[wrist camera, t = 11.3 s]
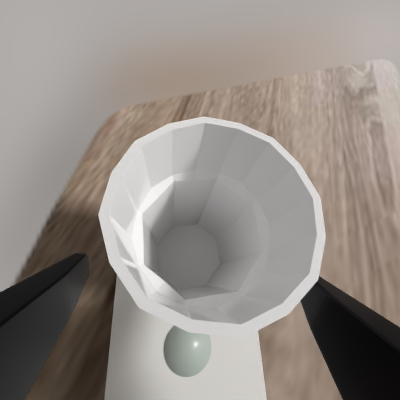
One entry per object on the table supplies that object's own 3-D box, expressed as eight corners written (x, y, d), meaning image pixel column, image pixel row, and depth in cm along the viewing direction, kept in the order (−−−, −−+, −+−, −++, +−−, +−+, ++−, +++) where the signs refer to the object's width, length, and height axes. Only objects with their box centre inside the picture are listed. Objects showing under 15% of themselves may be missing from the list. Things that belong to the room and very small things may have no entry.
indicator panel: (277, 522, 12) (285, 540, 11) (91, 564, 11) (84, 587, 10) (240, 220, 19) (243, 217, 18) (124, 220, 17) (122, 217, 17)
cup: (219, 315, 15) (323, 370, 5) (130, 289, 15) (49, 293, 5) (236, 228, 18) (326, 150, 8) (160, 205, 18) (150, 95, 7)
